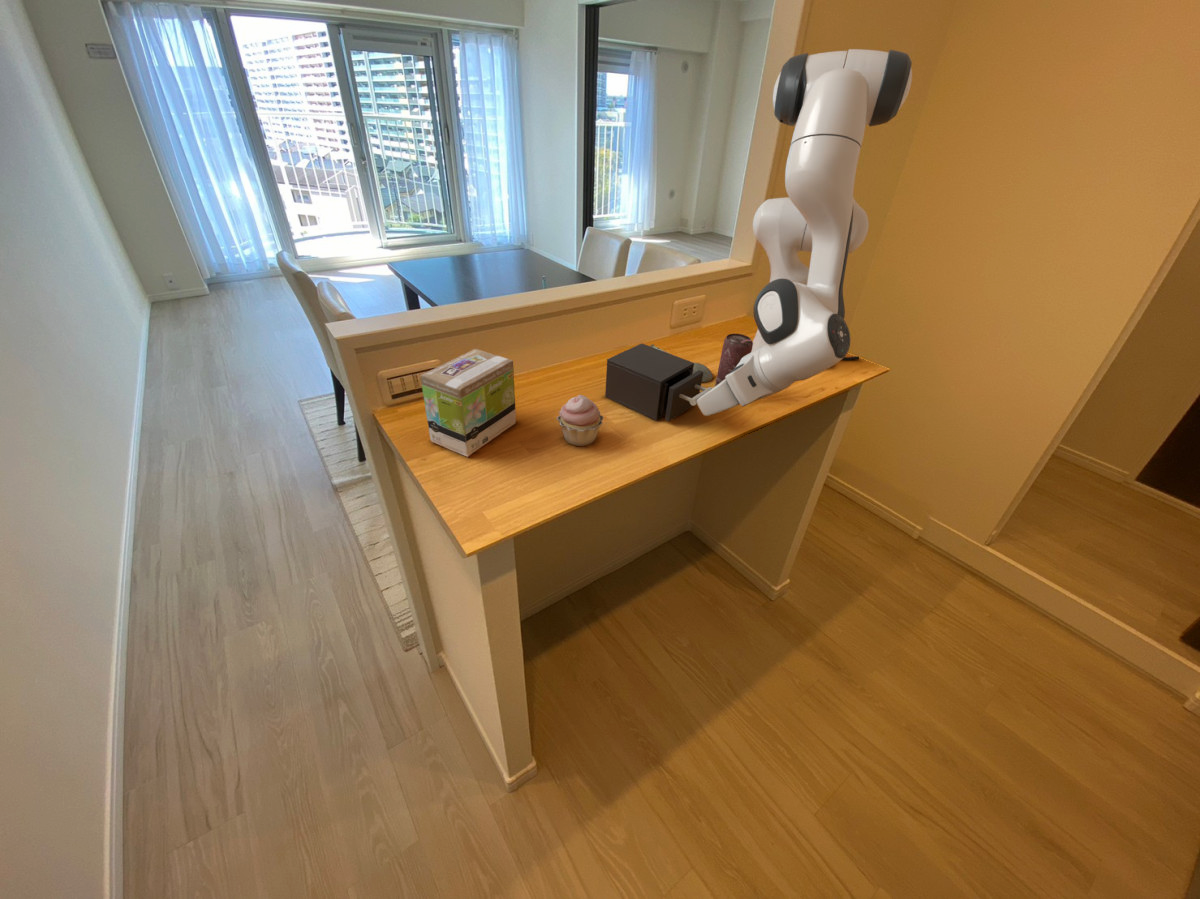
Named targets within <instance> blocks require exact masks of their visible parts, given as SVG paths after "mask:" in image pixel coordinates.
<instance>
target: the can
mask: <svg viewBox="0 0 1200 899" xmlns="http://www.w3.org/2000/svg"><path fill="white" fill-rule="evenodd" d="M752 347H753V339H752V338H750V336H748V335H746V334H741V333H729V334H727V335H726V337H725V338H724V340H723V344H722V349H721V354H720V358H719V363H718V368H717V373H716V378H715V383H714V387H715V386H717V385H718V384H719V383H721V382H722V381H723V380H725V379H726V378H725V377H726V375H728V374H729V373H730V372H731V371H732V370H733V369H734V368H735V367H736V366H737V365H738V363H739V362H740V360H741V359H742V358H743V357H744V356H746V355H747V354H749V353H751V351H752Z"/></svg>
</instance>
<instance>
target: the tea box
mask: <svg viewBox="0 0 1200 899" xmlns="http://www.w3.org/2000/svg"><path fill="white" fill-rule="evenodd" d="M420 384H421V390H422V396H423V401H424V402H423V403H424V408H425V409H424V410H425V414H426V421H427V425H428V433H429V438H430V439H429V440H430V442H431V443H434V444H436V445H438V446H440V447H443V448H445V449H447V450H450V451H452V452H454V453H457V454H459V455H462V456H465V457H467V458H468V457H470V456H471V455H472V454H474V453H475V452H477V451H478V450H479V449H481V448H482V447H483V446H485V445H487V444H488V443H489V442H490V441H492V440H493V439H495V438H497V437H498V436H499V435H500V434H502V433H503V432H505V431H507V430H509V428H511V427H513V426H514V425H515V424H516V423H517V413H516V412H517V411H516V410H517V409H516V395H515V392H516V391H515V390H516V389H515V368H514V360H513V359H510V358H506V357H503V356H501V355H497V354H493V353H490V352H488V351H484V350H481V349H478V348H474V349H471V350H470V351H468V352H465V353H464V354H461V355H459V356H457V357H455V358H453V359H451V360H449V361H447V362H445V363H443V364H440V365H438V366H437V367H435V368H433V369H431V370H428V371H427V372H425V373H423V374H421V375H420Z"/></svg>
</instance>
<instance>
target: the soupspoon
mask: <svg viewBox="0 0 1200 899" xmlns="http://www.w3.org/2000/svg"><path fill="white" fill-rule="evenodd" d="M649 346H650V347H653V348H656V349H658V350H661V351H664V352H666V353H669V354H671V353H670V352H668V351H665V350H663V349H661V348H660V347H657V346H655V344H650V345H649ZM693 363H694V367H693V373H695V372H697V371H698V370H700V371H703V378H702V383H709V382H711V381H712V380H713V377H714V376H713V373H712V371H711V369H710V368H708V366H706V365H705V364H702V363H699V362H693ZM693 373H692V374H693Z"/></svg>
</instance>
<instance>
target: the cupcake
mask: <svg viewBox="0 0 1200 899" xmlns="http://www.w3.org/2000/svg"><path fill="white" fill-rule="evenodd" d="M558 414H559V416H557V417H556V418H555V419H556V421H558V423H559V426H560V427H561V431H562V433H563V437H564V439H565V441H566V442H567V443H568V444H570V445H571V446H576V447H585V446H589V445H591V444H593V443H594V442H595V441H596V439H597V436H598V433H599V429H600V428H601V426H602V424H603V420H604V416H603V415H601V410H600V409H599V407H598V405H597V404H596V403H595V402H594V401H593V400H591V399H590V398H589V397H587V396H586V395H582V394H578V395H577V396H574V397H571V398H569V400H568V401H567V402H566V403H565V404H563V405H562V406H561V408H560V411H558Z"/></svg>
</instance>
